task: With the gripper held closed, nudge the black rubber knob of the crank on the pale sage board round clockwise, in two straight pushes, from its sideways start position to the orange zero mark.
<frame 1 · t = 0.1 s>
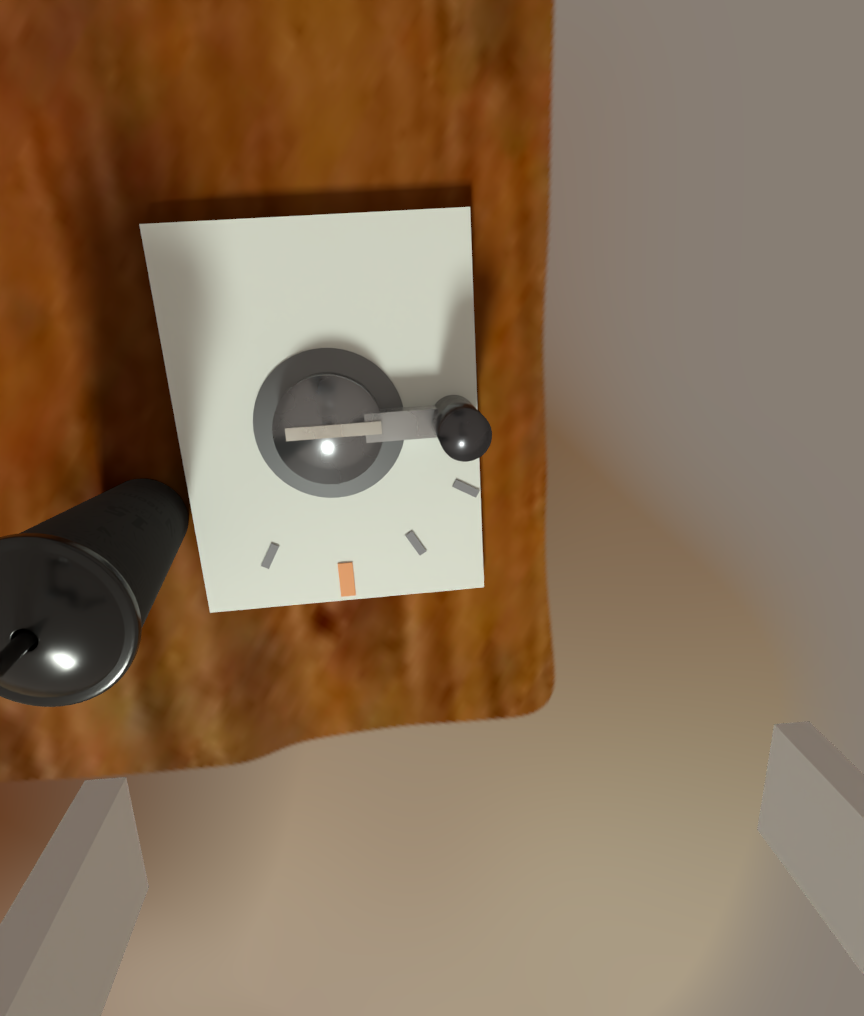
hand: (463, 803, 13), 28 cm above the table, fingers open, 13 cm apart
board: (331, 421, 38), on the table
drinking cup: (148, 516, 39), on the table
crank: (377, 431, 35), point 4 cm above the table, hinge at 90.0°
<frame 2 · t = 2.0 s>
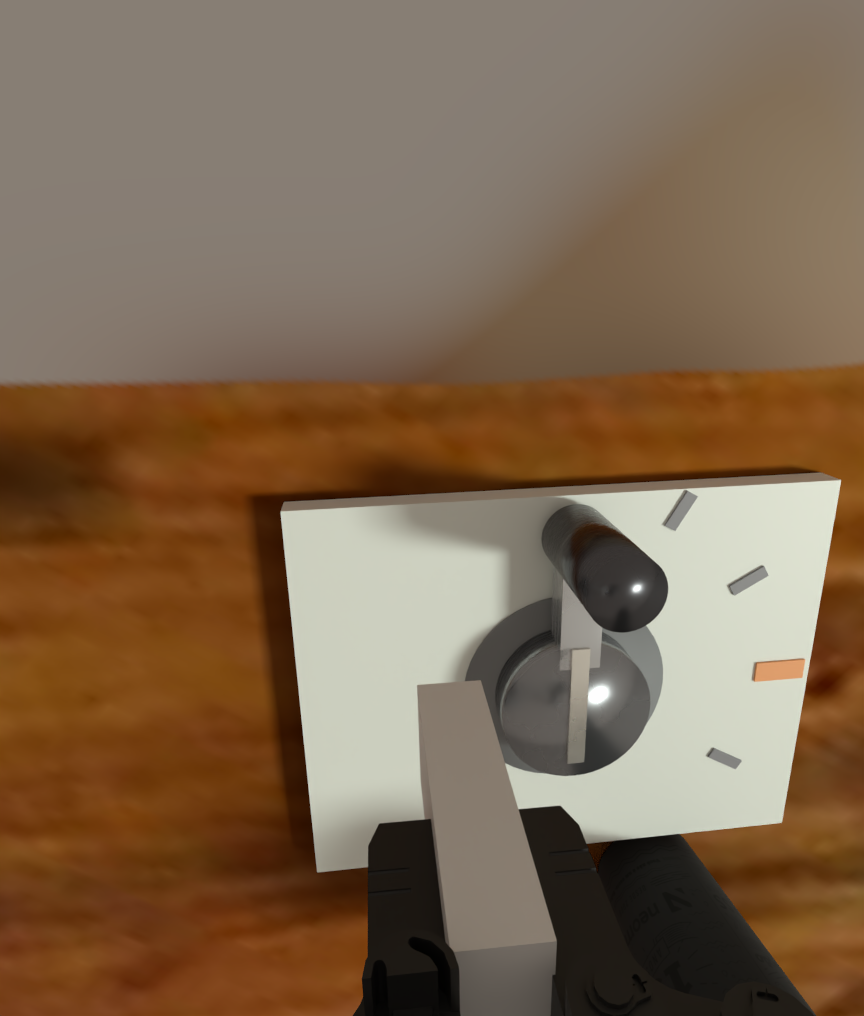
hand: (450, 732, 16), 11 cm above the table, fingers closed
board: (555, 672, 29), on the table
drinking cup: (642, 861, 33), on the table
crank: (590, 670, 24), point 4 cm above the table, hinge at 90.0°
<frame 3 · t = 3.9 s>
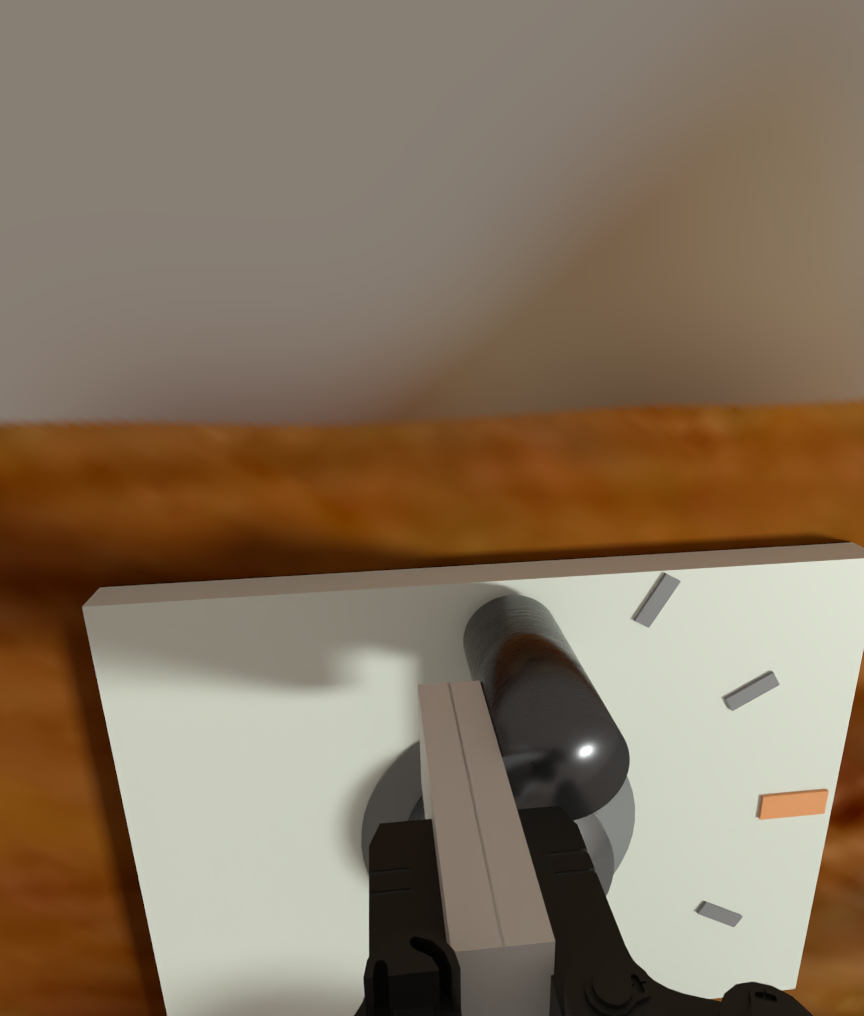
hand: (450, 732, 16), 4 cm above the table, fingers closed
board: (492, 802, 22), on the table
crank: (524, 836, 17), point 4 cm above the table, hinge at 88.8°, touching gripper
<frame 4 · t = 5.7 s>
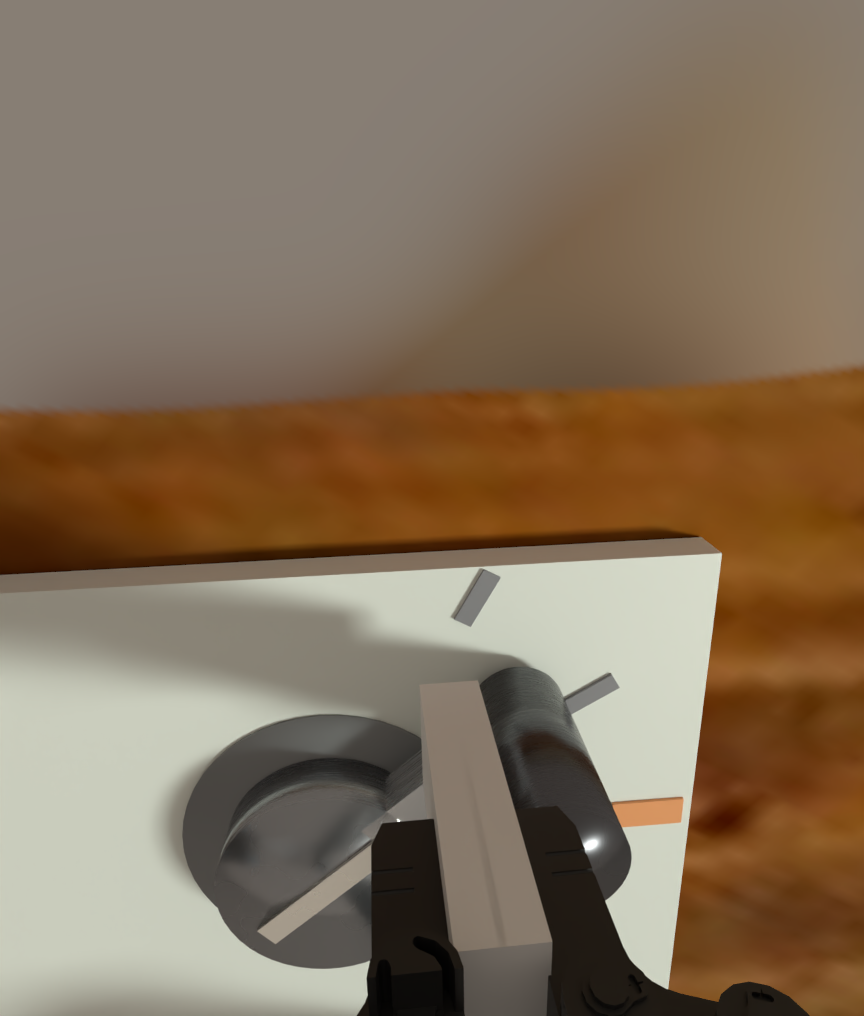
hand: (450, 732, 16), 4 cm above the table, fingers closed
board: (334, 806, 21), on the table
crank: (400, 870, 16), point 4 cm above the table, hinge at 39.4°, touching gripper
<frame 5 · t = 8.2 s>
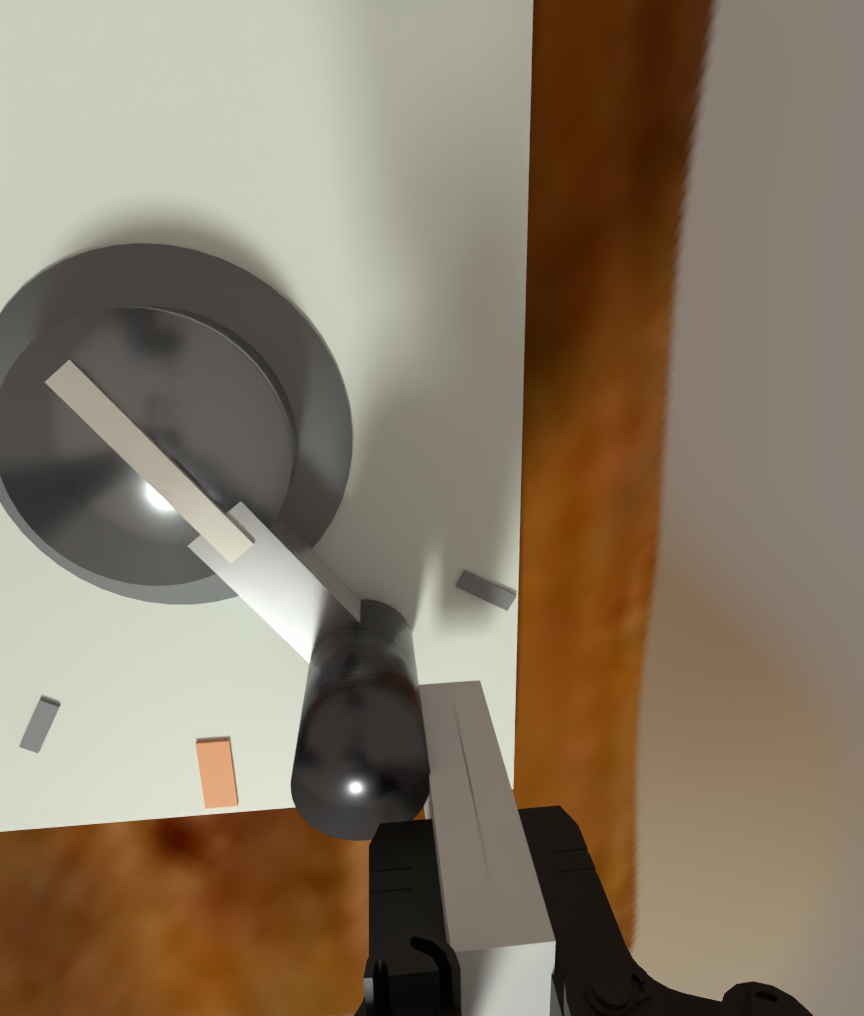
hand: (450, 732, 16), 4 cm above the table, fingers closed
board: (183, 428, 17), on the table
crank: (224, 564, 14), point 4 cm above the table, hinge at 37.8°, touching gripper
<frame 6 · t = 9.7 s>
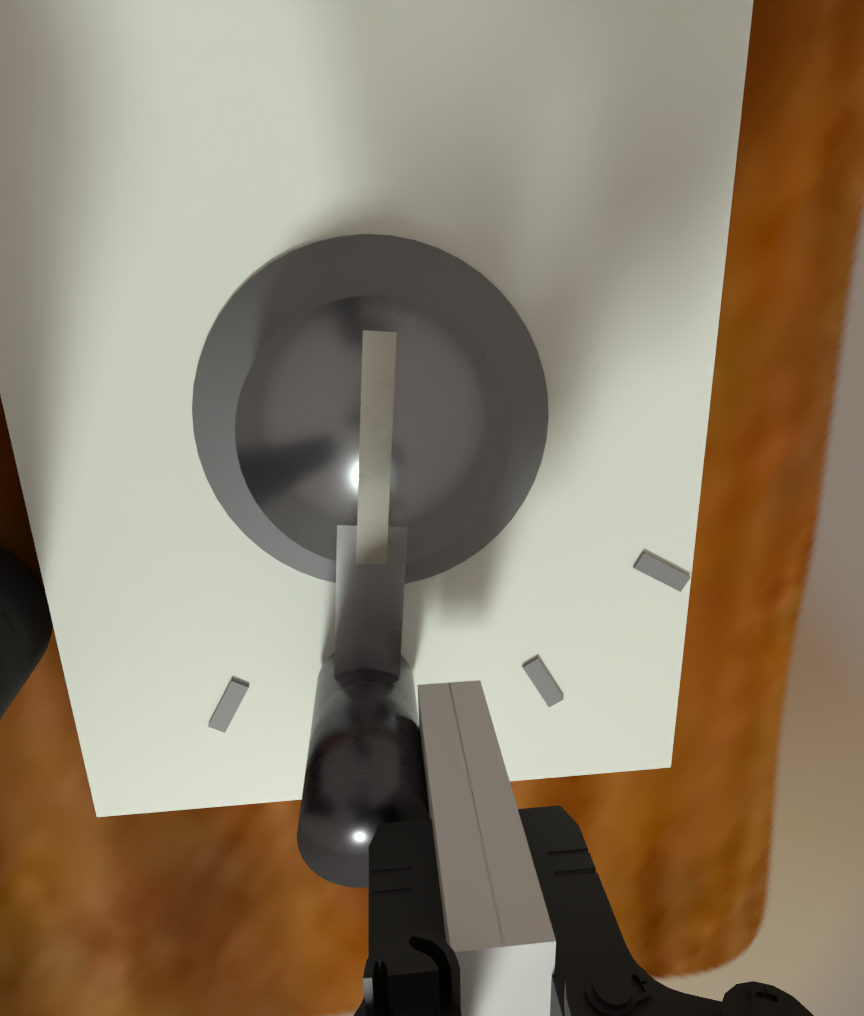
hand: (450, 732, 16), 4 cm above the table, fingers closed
board: (374, 415, 17), on the table
crank: (371, 572, 14), point 4 cm above the table, hinge at -5.0°, touching gripper
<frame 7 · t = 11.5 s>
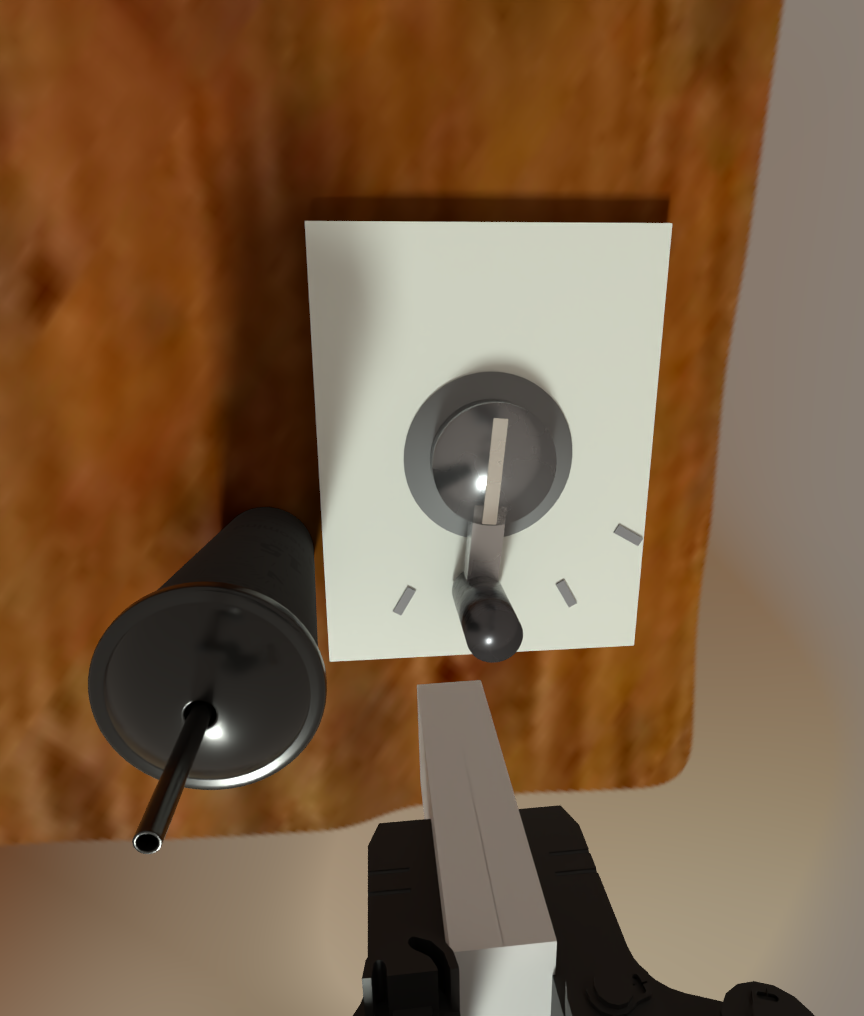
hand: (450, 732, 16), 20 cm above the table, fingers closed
board: (484, 453, 34), on the table
drinking cup: (268, 549, 35), on the table
crank: (493, 526, 31), point 4 cm above the table, hinge at -5.0°
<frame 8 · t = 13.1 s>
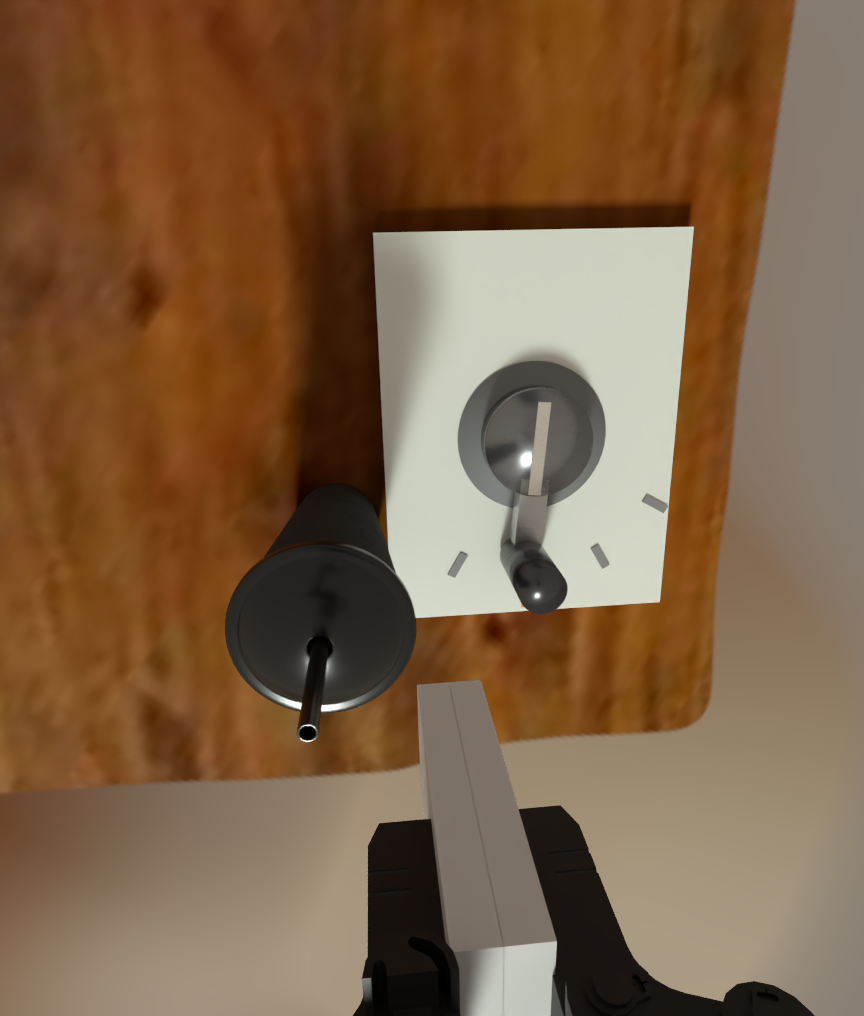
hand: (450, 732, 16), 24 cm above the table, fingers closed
board: (527, 433, 39), on the table
drinking cup: (337, 521, 39), on the table
crank: (539, 496, 36), point 4 cm above the table, hinge at -5.0°
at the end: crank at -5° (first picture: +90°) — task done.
